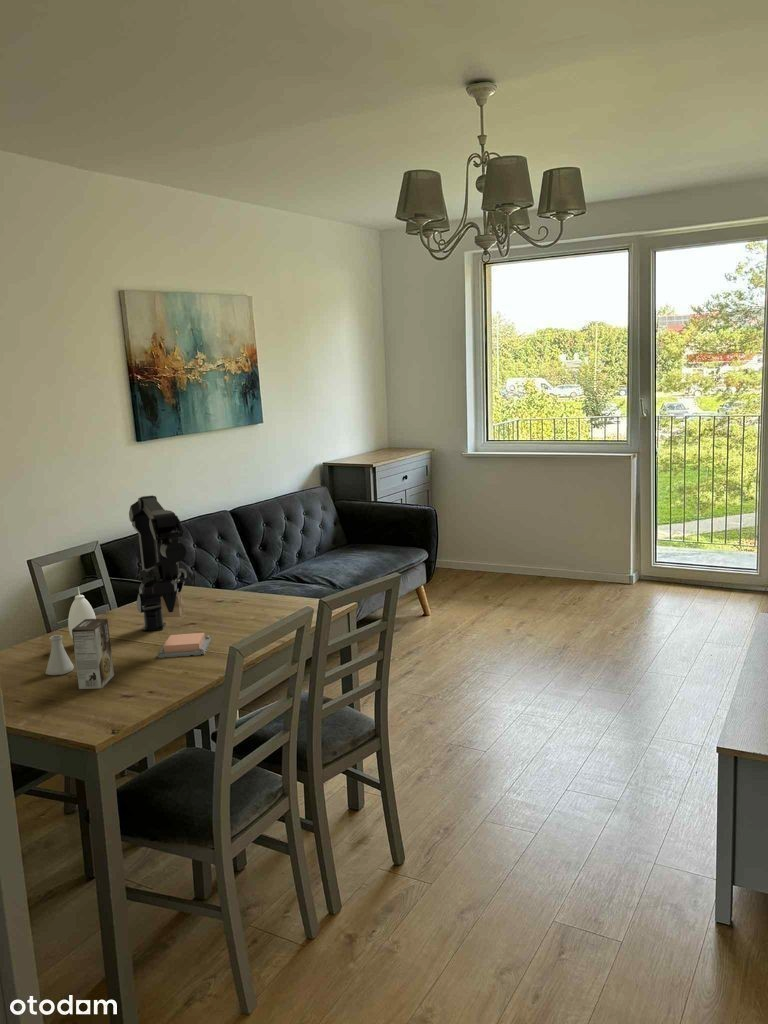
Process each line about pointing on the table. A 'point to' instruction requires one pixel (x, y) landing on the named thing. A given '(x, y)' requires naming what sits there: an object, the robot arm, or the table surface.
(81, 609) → the sauce bottle
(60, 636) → the flask
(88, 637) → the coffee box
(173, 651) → the brick base
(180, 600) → the tan wooden block
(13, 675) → the table surface
